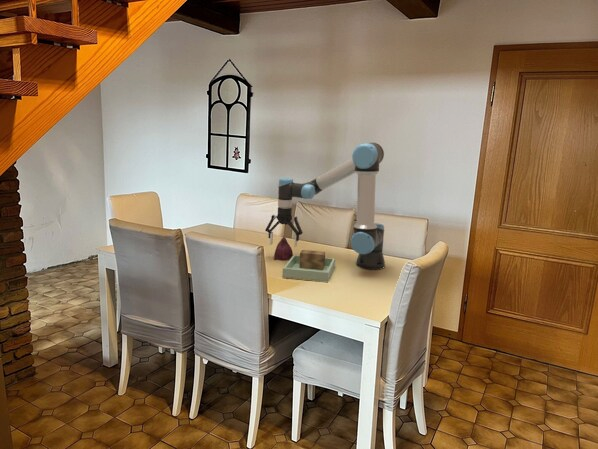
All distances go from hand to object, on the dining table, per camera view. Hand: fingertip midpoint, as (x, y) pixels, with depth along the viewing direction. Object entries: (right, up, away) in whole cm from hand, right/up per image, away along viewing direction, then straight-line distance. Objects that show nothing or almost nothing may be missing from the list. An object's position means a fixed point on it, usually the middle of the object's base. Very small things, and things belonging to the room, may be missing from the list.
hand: (283, 245), depth 251 cm
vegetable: (0, -8, +2) cm, 8 cm away
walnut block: (+15, -11, -14) cm, 23 cm away
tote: (+14, -13, -20) cm, 28 cm away
